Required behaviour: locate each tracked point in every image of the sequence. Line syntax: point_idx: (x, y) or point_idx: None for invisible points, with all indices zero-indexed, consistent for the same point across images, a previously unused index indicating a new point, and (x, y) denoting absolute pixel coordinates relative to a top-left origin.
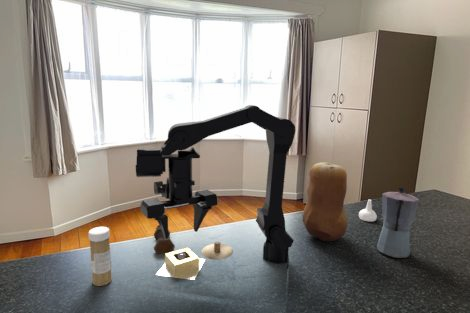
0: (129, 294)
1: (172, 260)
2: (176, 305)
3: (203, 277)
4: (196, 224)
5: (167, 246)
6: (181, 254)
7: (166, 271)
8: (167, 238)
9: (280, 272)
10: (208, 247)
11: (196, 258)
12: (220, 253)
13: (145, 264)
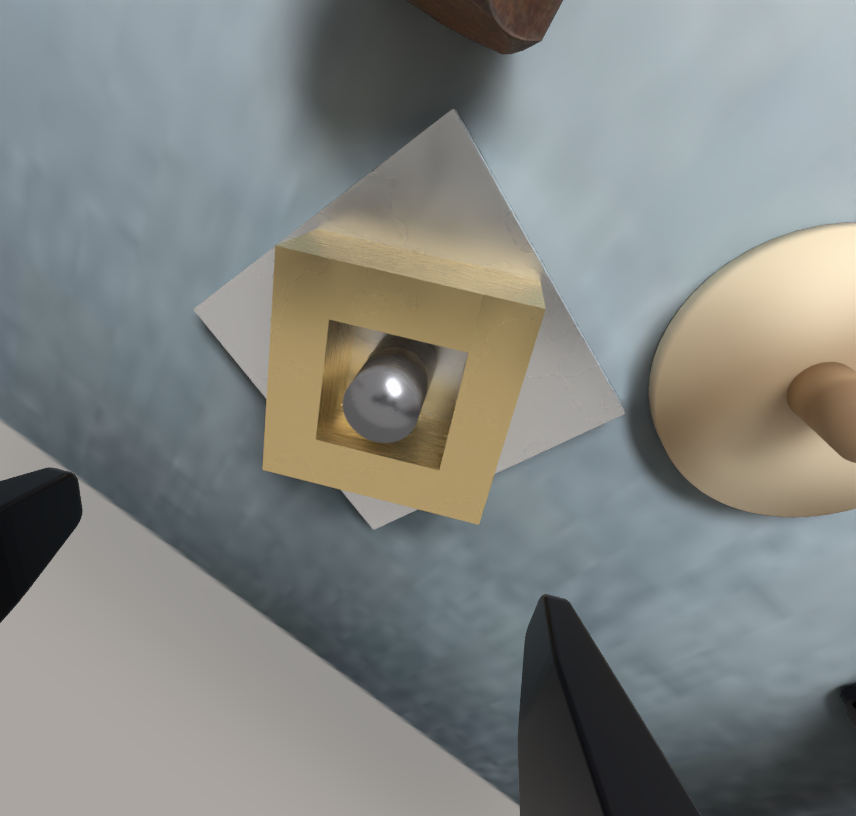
0: (25, 330)
1: (279, 400)
2: (216, 562)
3: None
4: (532, 774)
5: (445, 2)
6: (376, 410)
7: None
8: (72, 531)
9: (816, 761)
10: (847, 270)
11: (457, 514)
12: (796, 438)
13: (208, 27)
